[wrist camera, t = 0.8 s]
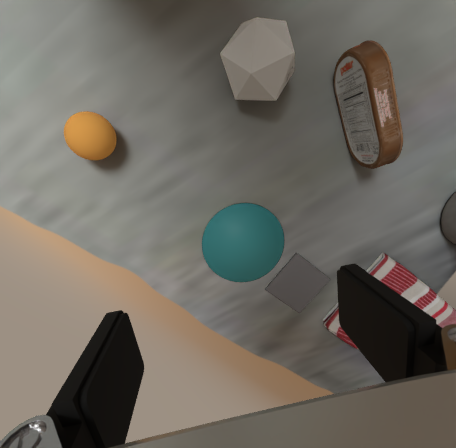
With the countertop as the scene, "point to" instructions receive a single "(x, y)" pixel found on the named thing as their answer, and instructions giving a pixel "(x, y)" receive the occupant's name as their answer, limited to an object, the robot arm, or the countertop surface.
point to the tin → (368, 105)
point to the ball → (90, 135)
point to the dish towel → (406, 287)
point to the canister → (449, 219)
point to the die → (259, 59)
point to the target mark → (243, 242)
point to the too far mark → (297, 283)
